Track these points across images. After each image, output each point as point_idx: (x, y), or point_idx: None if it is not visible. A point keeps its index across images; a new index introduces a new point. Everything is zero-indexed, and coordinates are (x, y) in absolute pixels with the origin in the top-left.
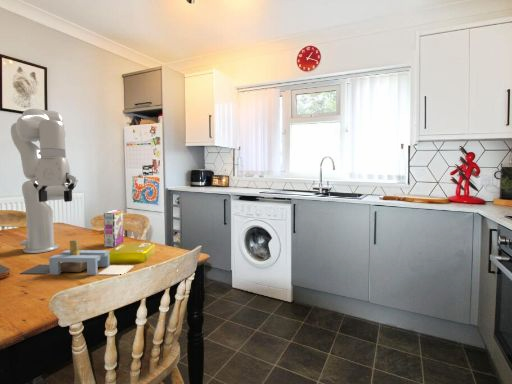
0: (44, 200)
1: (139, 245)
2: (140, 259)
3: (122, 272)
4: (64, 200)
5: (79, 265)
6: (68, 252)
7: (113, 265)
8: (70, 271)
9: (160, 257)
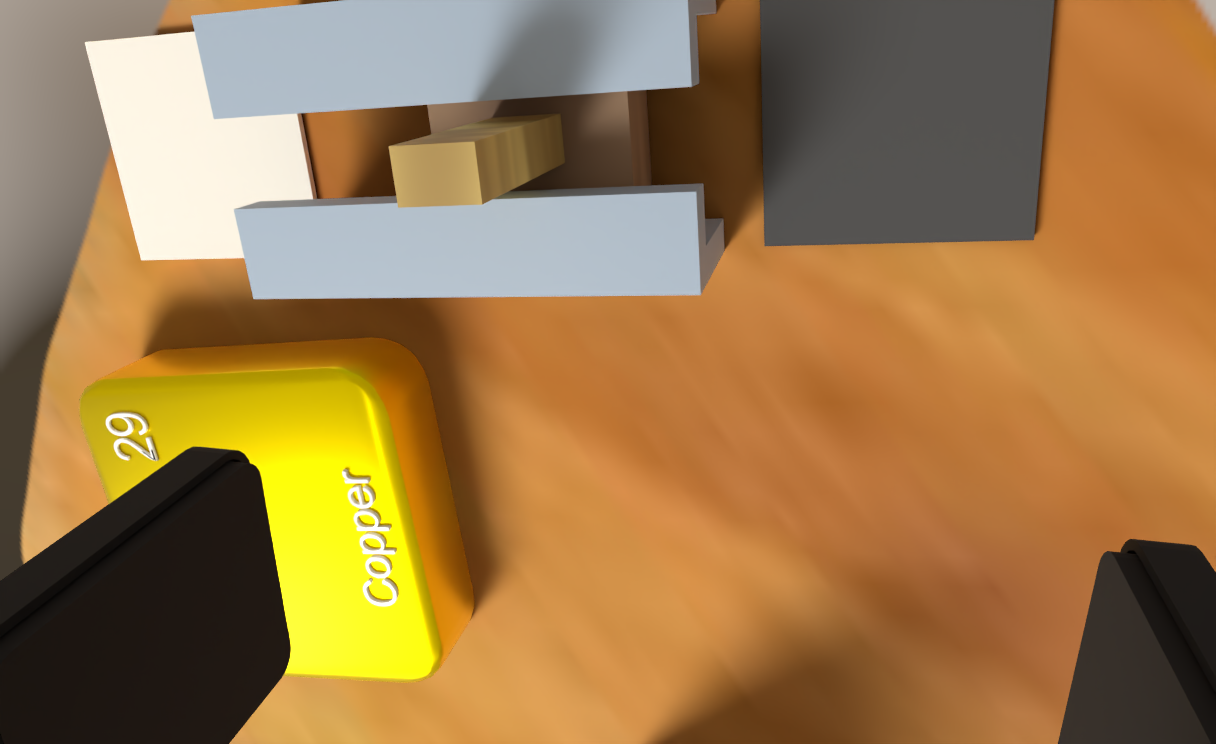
0: (1080, 691)
1: None
2: (139, 360)
3: (117, 82)
4: (221, 461)
5: None
6: (609, 194)
7: None
8: None
9: (98, 479)
